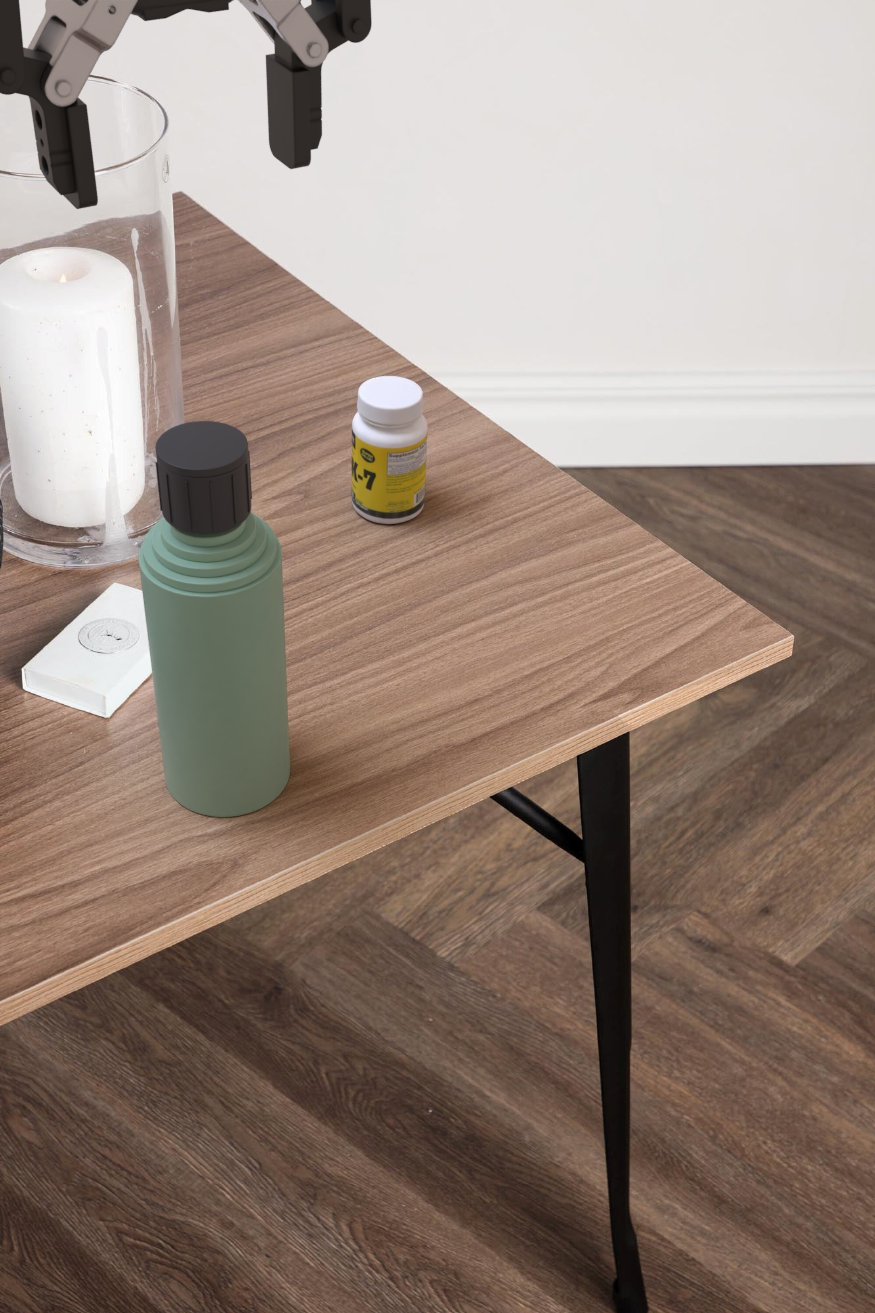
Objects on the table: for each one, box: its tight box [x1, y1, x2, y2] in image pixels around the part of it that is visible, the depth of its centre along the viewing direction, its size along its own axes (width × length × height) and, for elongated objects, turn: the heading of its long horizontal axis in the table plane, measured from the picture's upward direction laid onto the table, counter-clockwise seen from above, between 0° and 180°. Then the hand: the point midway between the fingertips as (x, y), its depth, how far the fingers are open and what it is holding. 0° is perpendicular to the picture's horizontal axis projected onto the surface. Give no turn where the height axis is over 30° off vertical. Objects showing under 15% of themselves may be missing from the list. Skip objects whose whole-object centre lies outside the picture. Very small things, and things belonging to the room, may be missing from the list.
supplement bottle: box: [350, 375, 429, 525], centre depth 89 cm, size 5×5×8 cm
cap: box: [155, 420, 253, 534], centre depth 61 cm, size 4×4×3 cm
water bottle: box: [138, 511, 291, 818], centre depth 67 cm, size 6×6×19 cm
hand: (188, 180), depth 53 cm, fingers open, 8 cm apart
